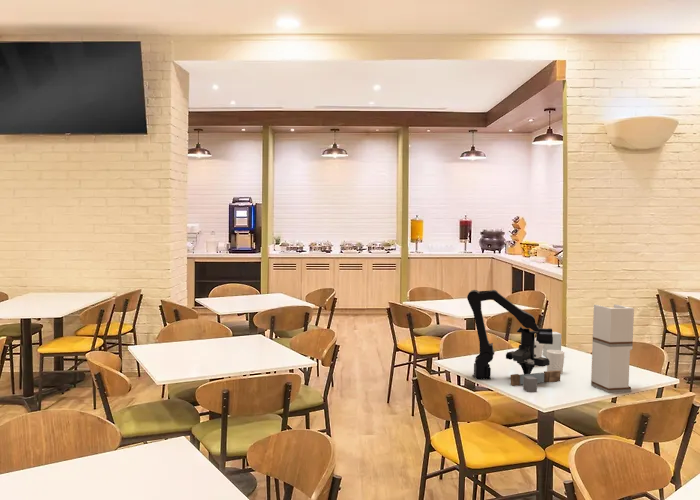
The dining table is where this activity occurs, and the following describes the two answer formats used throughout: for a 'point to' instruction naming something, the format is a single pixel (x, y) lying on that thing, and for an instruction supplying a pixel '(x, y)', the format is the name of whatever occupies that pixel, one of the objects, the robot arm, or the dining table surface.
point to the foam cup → (538, 350)
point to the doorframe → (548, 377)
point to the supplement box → (555, 345)
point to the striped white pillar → (612, 348)
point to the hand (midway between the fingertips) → (526, 378)
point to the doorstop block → (530, 384)
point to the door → (537, 375)
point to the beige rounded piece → (555, 360)
